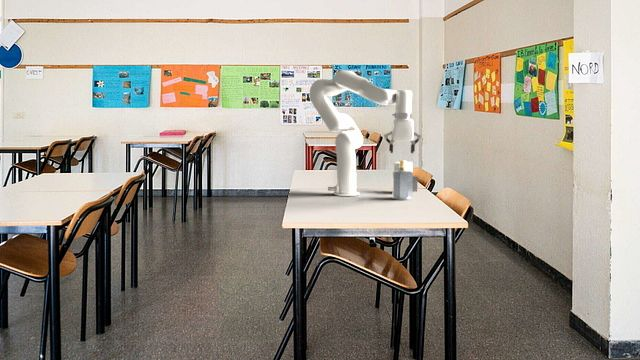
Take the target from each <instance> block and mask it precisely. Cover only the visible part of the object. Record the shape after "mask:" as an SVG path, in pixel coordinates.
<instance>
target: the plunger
mask: <svg viewBox="0 0 640 360" xmlns="http://www.w3.org/2000/svg"><path fill="white" fill-rule="evenodd" d="M398 162H399V169H400V170H401V172H404V170H406V169H407V162H408V161H407V160H399V161H398Z"/></svg>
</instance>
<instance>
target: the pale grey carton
mask: <svg viewBox="0 0 640 360" xmlns="http://www.w3.org/2000/svg"><path fill="white" fill-rule="evenodd" d="M413 175H414V174H413V170H412V171H410V170H406V171H405V170H404V172H401V170H398V171H394V170H393V172H392V200H395V201H411V200H413V193H415V192H418V179H419V178H418V176H413Z"/></svg>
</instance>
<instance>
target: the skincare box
mask: <svg viewBox="0 0 640 360" xmlns="http://www.w3.org/2000/svg"><path fill="white" fill-rule="evenodd" d="M398 170H400V169H399V161H397V162H394V163H393V171H398ZM406 170H410V171H412V172H413V161H407V169H406ZM406 170H405V171H406Z"/></svg>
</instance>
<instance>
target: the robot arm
mask: <svg viewBox="0 0 640 360" xmlns="http://www.w3.org/2000/svg"><path fill="white" fill-rule="evenodd" d="M347 91H348V92H351V93H353V94H356V95H358V96H360V97H362V98H363V99H366V100H368V101H370V102H372V103H375V104H377V105H380V106H395V108H394V109H395V110H394V113H392V114H391V117H393V118H394V119H393V120H392V125H391V126H392V127H391V131H390V132H389V131H388V132H387V133H385V134H384V135H383V137H384V138H385V139H384V140H385V142H387V143H388V144H389V152H390V153H391V154H393V152H394V144H393V143H394V142H410V143H411V144H410V153H411V154H414V152H415V149H416V148H415V147H416V144H418V143H419V141H420V139H422V138H421V137H422V136H421V135H420V134H419V133H417V132H415V129H414V127H415V125H414V119H412V108H413V107H412V106H413V105H412V101H413V92H412V91H411V90H408V89H405V90H404V89H399V90H398V89H397V90H396V89H389V88H388V89H387V88H383V87H379V86H377V85H375V84H374V83H371V82H370V81H369V79H367V78H366V77H364V76H361V75H358V74H356V73H355V72H354V71H352V70H348V69H347V70H346V69H341V70H338V71H336V73H334V76H333V78H332V79H326V78H325V79H324V78H320V79H317V80H314V82H312V84H311V85H310V88H309V99H310V102H311V103H312V104H311V105H313V107H314V109H315V110H316V111H317V113H318V115H319V117H320V118H321V120H322V121H323V122H324V123H325V125H326V126H325V127H327V129H328V130H329V131H330V132H332V133H338V134H337V135H336V137H335V140H334V141H335V142H334V143H335V145H334V146H335V151H336V185H334V186H327V191H332V192H333V195H335V196H340V197H354V196H359V195H360V192H359V191H358V190H357V155H356V150H358V149H360V148H361V147H362V146H363V144H364V136H363V134H362V132H361V131H360V129H359V128H358V126H357V125H356V123H355V121H354V120H353V118H352V117H351V116H350V115H348V114H347V113H346V112H345V113H344V112H339V111H338V109H336V106H335V105H334V104H333V103H332V101H331V100H330V99H329V98H330V97H335V96H338V95H340V94H342V93H344V92H347ZM328 97H329V98H328ZM390 136H391V139H389V137H390ZM414 137H416V139H415V138H414ZM414 139H415V140H414Z"/></svg>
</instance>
